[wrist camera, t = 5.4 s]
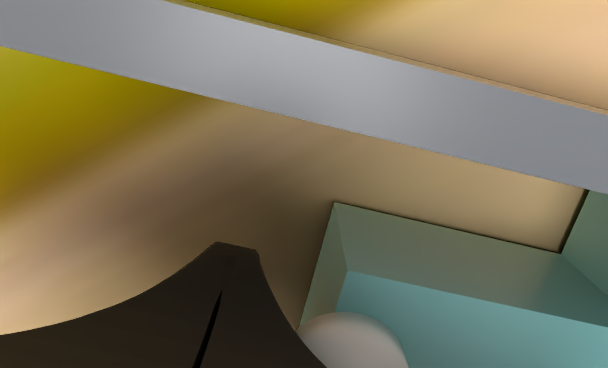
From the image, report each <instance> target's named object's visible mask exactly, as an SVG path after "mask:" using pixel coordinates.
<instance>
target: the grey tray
mask: <svg viewBox="0 0 608 368" xmlns="http://www.w3.org/2000/svg"><path fill="white" fill-rule="evenodd" d="M0 46H2V47H6V48H10V49H15V50H19V51H23V52H27V53H31V54H35V55H39V56H43V57H47V58H51V59H56V60H60V61H64V62H68V63H72V64H76V65H80V66H84V67H88V68H92V69H97V70H101V71H105V72H109V73H113V74H117V75H121V76H125V77H129V78H133V79H137V80H142V81H146V82H150V83H154V84H158V85H162V86H166V87H170V88H174V89H178V90H183V91H187V92H191V93H195V94H199V95H203V96H207V97H211V98H215V99H219V100H224V101H228V102H232V103H236V104H240V105H244V106H248V107H252V108H256V109H260V110H265V111H269V112H273V113H277V114H281V115H285V116H289V117H293V118H297V119H301V120H305V121H310V122H314V123H318V124H322V125H326V126H330V127H334V128H338V129H342V130H346V131H351V132H355V133H359V134H363V135H367V136H371V137H375V138H379V139H383V140H387V141H392V142H396V143H400V144H404V145H408V146H412V147H416V148H420V149H424V150H428V151H432V152H437V153H441V154H445V155H449V156H453V157H457V158H461V159H465V160H469V161H473V162H478V163H482V164H486V165H490V166H494V167H498V168H502V169H506V170H510V171H514V172H519V173H523V174H527V175H531V176H535V177H539V178H543V179H547V180H551V181H555V182H560V183H564V184H568V185H572V186H576V187H580V188H584V189H588V190H592V191H596V192H600V193H605V194H608V110H604V109H601V108H597V107H593V106H589V105H585V104H581V103H577V102H574V101H570V100H566V99H562V98H558V97H554V96H550V95H547V94H543V93H539V92H535V91H531V90H527V89H523V88H520V87H516V86H512V85H508V84H504V83H500V82H496V81H493V80H489V79H485V78H481V77H477V76H473V75H469V74H466V73H462V72H458V71H454V70H450V69H446V68H443V67H439V66H435V65H431V64H427V63H423V62H419V61H416V60H412V59H408V58H404V57H400V56H396V55H392V54H389V53H385V52H381V51H377V50H373V49H369V48H365V47H362V46H358V45H354V44H350V43H346V42H342V41H338V40H335V39H331V38H327V37H323V36H319V35H315V34H311V33H308V32H304V31H300V30H296V29H292V28H288V27H285V26H281V25H277V24H273V23H269V22H265V21H261V20H258V19H254V18H250V17H246V16H242V15H238V14H234V13H231V12H227V11H223V10H219V9H215V8H211V7H207V6H204V5H200V4H196V3H192V2H188V1H184V0H0Z"/></svg>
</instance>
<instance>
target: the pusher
mask: <svg viewBox="0 0 608 368" xmlns="http://www.w3.org/2000/svg"><path fill="white" fill-rule="evenodd" d="M295 332H296V333H297V335H298V336H299V337H300V339H301V340H302V341H303V343H304V344H305V345H306V346H307V347H308V348H309V349H310V351H311V352H312V353H313V354H314V355H315V356H316V357H317V358H318V359H319V360H320V361H321V362H322V363H323V364H324V365H325V366H326V367H327V368H608V194H605V193H600V192H596V191H592V190H590V191H589V193H588V196H587V198H586V200H585V202H584V204H583V207H582V209H581V211H580V213H579V215H578V218H577V220H576V222H575V224H574V227H573V229H572V231H571V233H570V235H569V238H568V240H567V242H566V244H565V246H564V249H563V251H562V253H561V254H557V253H553V252H549V251H544V250H540V249H536V248H531V247H527V246H523V245H518V244H514V243H510V242H505V241H501V240H497V239H492V238H488V237H484V236H479V235H475V234H471V233H467V232H462V231H458V230H454V229H449V228H445V227H441V226H436V225H432V224H428V223H423V222H419V221H415V220H410V219H406V218H402V217H397V216H393V215H389V214H384V213H380V212H376V211H371V210H367V209H363V208H358V207H354V206H350V205H345V204H341V203H337V202H334V205H333V209H332V212H331V216H330V219H329V223H328V226H327V230H326V233H325V237H324V240H323V244H322V247H321V251H320V254H319V258H318V261H317V265H316V268H315V272H314V275H313V279H312V282H311V286H310V289H309V293H308V296H307V300H306V304H305V307H304V311H303V314H302V318H301V321H300V325H299V328H298V329H296V330H295Z"/></svg>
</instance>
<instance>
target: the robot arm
mask: <svg viewBox="0 0 608 368" xmlns="http://www.w3.org/2000/svg"><path fill="white" fill-rule="evenodd" d="M0 368H327V367H326V366H325V365H324V364H323V363H322V362H321V361H320V360H319V359H318V358H317V357H316V356H315V355H314V354H313V353H312V352H311V351H310V349H309V348H308V347H307V346H306V345H305V344H304V343H303V341H302V340H301V339H300V337H299V336H298V335H297V333H296V332H295V331H294V330H293V328H292V327H291V325H290V324H289V322H288V321H287V319H286V317H285V316H284V314H283V312H282V311H281V309H280V307H279V305H278V303H277V301H276V300H275V297H274V295H273V293H272V291H271V289H270V287H269V285H268V282H267V280H266V278H265V275H264V272H263V269H262V266H261V263H260V259H259V255H258V253H257V252H256V250H254V249H249V248H245V247H240V246H235V245H231V244H226V243H221V242H215V243H214V244H212V245H211V246H210V247H208V248H207V249H206V250H205V251H204V252H203V253H201V254H200V255H199V256H198V257H197V258H195V259H194V260H193V261H191V262H190V263H189V264H187V265H186V266H185V267H183V268H182V269H180V270H179V271H178V272H176V273H175V274H173V275H172V276H170V277H169V278H167V279H165V280H164V281H162V282H160V283H159V284H157V285H156V286H154V287H152V288H151V289H149V290H147V291H145V292H143V293H141V294H139V295H137V296H135V297H133V298H131V299H128V300H126V301H124V302H122V303H119V304H117V305H114V306H112V307H109V308H106V309H103V310H100V311H97V312H94V313H91V314H88V315H85V316H82V317H79V318H76V319H73V320H69V321H65V322H62V323H58V324H54V325H50V326H45V327H41V328H36V329H32V330H27V331H22V332H17V333H11V334H4V335H0Z"/></svg>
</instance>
